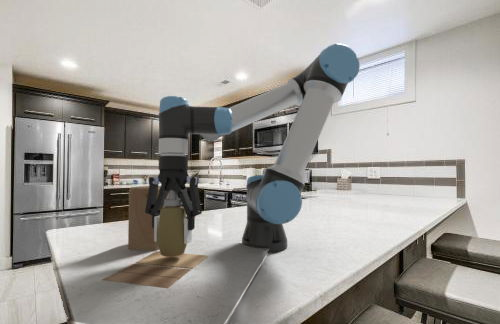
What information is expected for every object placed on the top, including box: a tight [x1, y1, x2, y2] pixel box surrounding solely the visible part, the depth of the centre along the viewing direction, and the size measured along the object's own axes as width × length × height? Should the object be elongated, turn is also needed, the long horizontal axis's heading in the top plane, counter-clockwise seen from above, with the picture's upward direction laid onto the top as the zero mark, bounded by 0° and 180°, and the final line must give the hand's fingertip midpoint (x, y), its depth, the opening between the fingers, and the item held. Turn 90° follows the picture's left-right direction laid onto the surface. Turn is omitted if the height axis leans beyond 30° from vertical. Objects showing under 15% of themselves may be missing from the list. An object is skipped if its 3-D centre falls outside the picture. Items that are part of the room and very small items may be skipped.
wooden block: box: [127, 185, 169, 252], centre depth 82 cm, size 10×10×20 cm
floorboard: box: [102, 263, 192, 289], centre depth 58 cm, size 16×10×2 cm, turn 76°
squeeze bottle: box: [157, 190, 188, 257], centre depth 68 cm, size 8×8×18 cm
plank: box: [135, 250, 209, 270], centre depth 68 cm, size 16×9×2 cm, turn 76°
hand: (172, 241), depth 68 cm, fingers closed on squeeze bottle, 8 cm apart
